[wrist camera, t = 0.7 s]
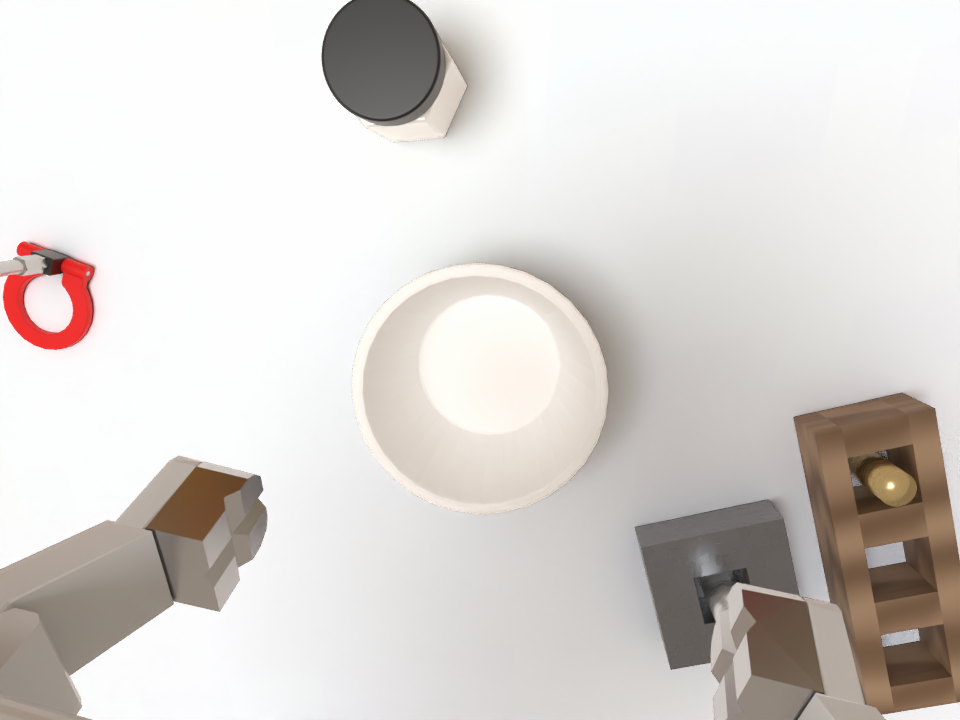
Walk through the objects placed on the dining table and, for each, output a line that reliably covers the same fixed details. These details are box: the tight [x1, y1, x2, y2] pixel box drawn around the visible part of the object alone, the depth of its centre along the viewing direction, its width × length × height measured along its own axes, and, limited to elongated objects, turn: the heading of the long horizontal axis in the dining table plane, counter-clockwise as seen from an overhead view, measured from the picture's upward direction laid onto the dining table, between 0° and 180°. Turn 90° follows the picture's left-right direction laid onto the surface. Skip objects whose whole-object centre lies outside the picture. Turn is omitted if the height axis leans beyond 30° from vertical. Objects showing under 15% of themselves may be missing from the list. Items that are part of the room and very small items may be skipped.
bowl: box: [352, 263, 609, 514], centre depth 56 cm, size 19×19×11 cm
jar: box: [322, 0, 467, 142], centre depth 51 cm, size 9×8×12 cm
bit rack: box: [794, 393, 960, 714], centre depth 58 cm, size 26×9×5 cm, turn 15°
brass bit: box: [847, 452, 917, 507], centre depth 56 cm, size 3×3×7 cm
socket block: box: [635, 500, 799, 670], centre depth 61 cm, size 12×12×4 cm
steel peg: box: [697, 571, 739, 621], centre depth 58 cm, size 3×3×10 cm
